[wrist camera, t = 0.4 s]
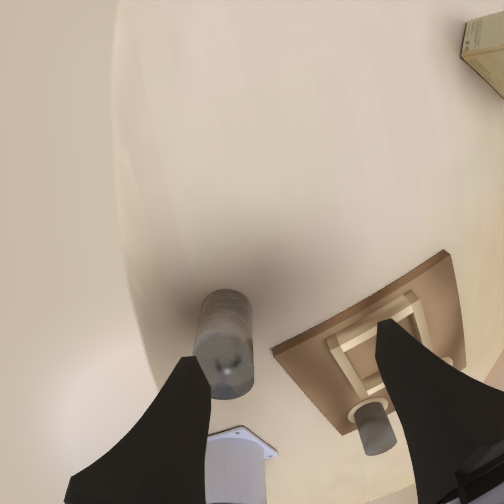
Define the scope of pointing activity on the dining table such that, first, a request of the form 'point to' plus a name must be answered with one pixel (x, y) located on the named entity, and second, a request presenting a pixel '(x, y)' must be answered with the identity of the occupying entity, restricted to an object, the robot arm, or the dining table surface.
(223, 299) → the metal pin
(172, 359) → the dining table surface
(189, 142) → the dining table surface
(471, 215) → the dining table surface
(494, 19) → the skincare box
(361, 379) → the pin board
